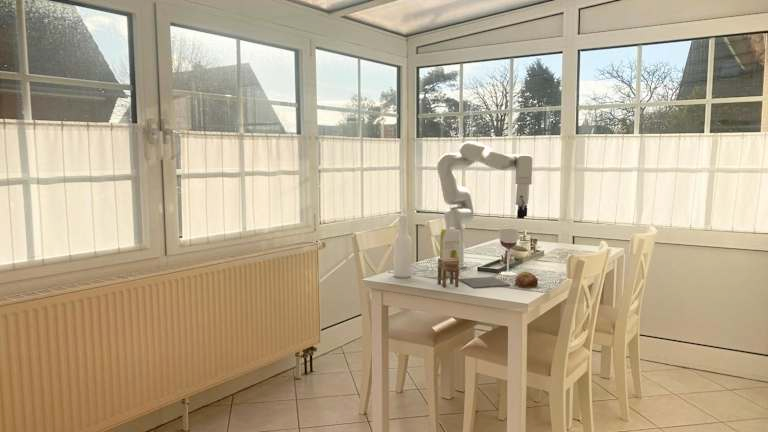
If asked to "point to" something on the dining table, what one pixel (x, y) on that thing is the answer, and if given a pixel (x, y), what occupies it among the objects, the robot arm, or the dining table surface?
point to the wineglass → (508, 243)
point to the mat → (484, 282)
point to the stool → (448, 265)
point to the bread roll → (526, 280)
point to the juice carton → (450, 246)
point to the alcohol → (402, 250)
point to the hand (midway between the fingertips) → (522, 217)
